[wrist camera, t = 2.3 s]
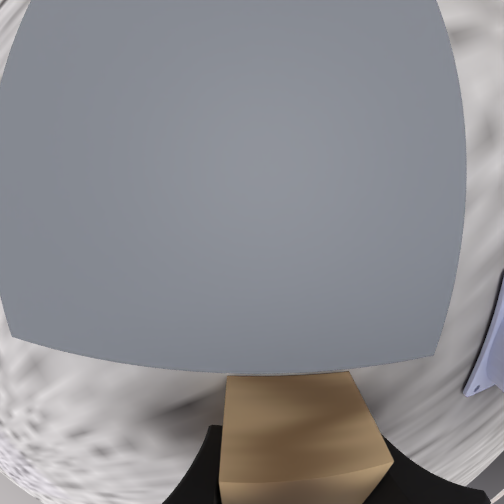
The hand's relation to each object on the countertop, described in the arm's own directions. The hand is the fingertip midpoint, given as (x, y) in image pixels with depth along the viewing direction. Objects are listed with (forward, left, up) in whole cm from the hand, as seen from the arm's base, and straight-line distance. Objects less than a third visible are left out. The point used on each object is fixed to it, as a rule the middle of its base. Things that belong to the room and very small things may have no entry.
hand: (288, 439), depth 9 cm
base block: (+3, -12, -1) cm, 12 cm away
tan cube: (0, 0, -1) cm, 1 cm away
